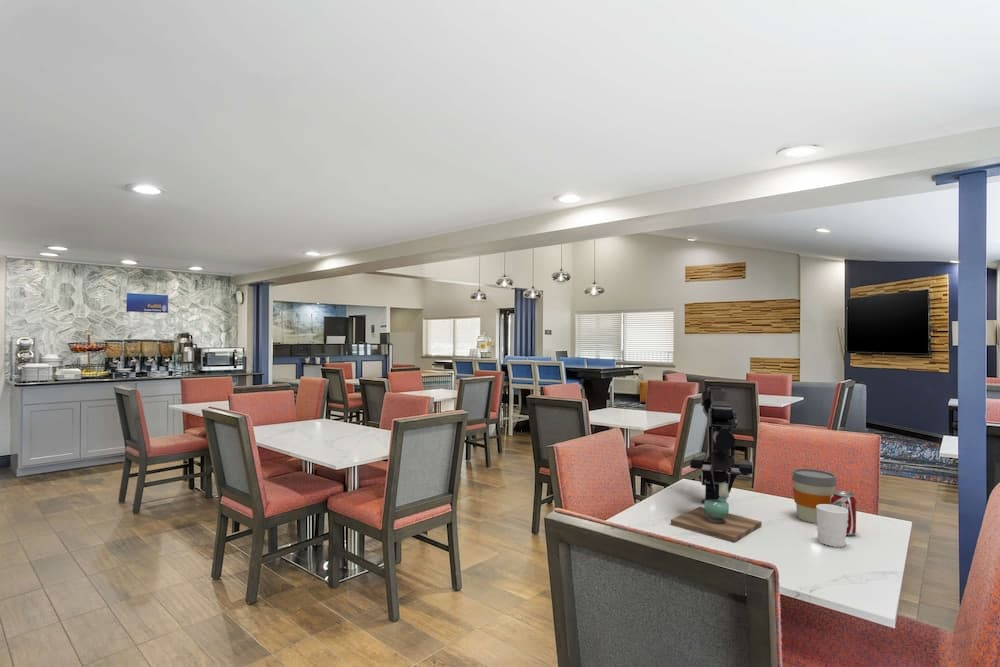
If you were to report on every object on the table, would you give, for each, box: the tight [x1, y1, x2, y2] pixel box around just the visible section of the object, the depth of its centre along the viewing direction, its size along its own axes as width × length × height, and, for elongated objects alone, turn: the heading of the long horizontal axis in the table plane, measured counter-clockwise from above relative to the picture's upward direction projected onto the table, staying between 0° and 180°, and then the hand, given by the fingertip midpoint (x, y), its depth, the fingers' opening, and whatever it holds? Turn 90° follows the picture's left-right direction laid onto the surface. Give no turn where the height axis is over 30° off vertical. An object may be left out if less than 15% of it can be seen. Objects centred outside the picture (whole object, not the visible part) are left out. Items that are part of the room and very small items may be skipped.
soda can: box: [830, 490, 857, 536], centre depth 168 cm, size 7×7×12 cm
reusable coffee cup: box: [792, 468, 837, 524], centre depth 180 cm, size 13×13×15 cm
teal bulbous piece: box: [703, 483, 730, 518], centre depth 175 cm, size 14×7×8 cm, turn 144°
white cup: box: [816, 504, 848, 548], centre depth 159 cm, size 8×8×10 cm
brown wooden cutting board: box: [670, 505, 763, 543], centre depth 172 cm, size 20×20×3 cm
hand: (721, 491), depth 180 cm, fingers open, 4 cm apart
